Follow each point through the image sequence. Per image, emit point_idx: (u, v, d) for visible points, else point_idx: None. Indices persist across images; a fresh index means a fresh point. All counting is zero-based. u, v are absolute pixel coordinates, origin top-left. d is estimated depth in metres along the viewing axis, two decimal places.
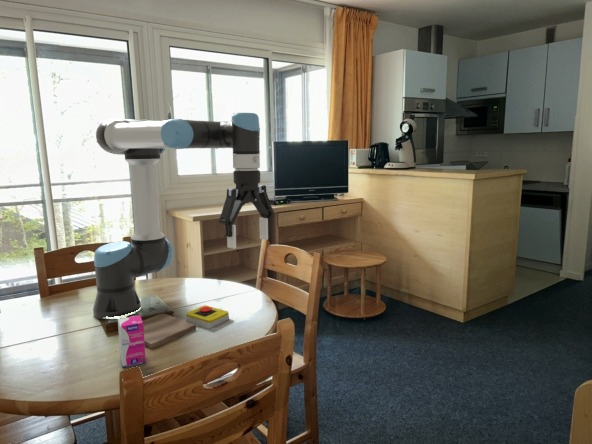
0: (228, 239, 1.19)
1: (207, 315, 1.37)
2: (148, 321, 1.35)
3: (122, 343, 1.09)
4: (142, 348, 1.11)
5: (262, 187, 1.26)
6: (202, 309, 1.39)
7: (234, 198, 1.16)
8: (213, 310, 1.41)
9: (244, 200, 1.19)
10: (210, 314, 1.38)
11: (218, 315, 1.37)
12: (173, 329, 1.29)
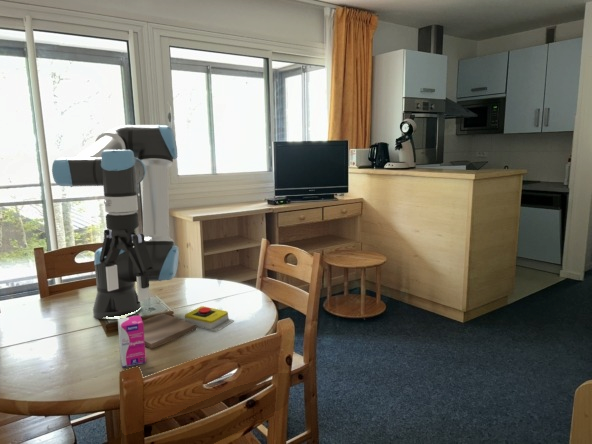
0: None
1: (207, 316, 1.37)
2: (148, 321, 1.35)
3: (122, 343, 1.09)
4: (142, 348, 1.11)
5: None
6: (201, 310, 1.38)
7: (105, 239, 1.11)
8: (212, 310, 1.41)
9: (111, 245, 1.08)
10: (210, 315, 1.38)
11: (218, 315, 1.37)
12: (173, 329, 1.29)
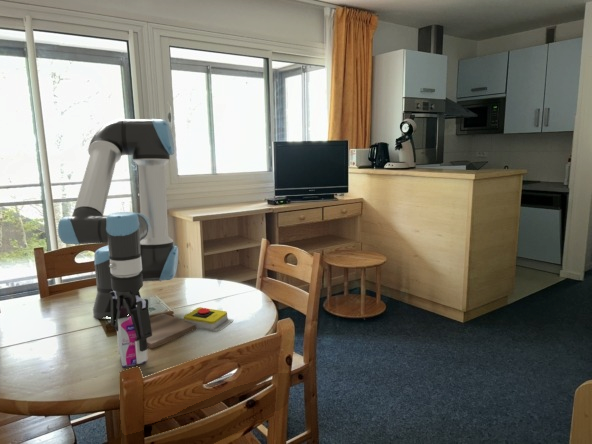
0: None
1: (207, 316, 1.36)
2: None
3: (122, 343, 1.09)
4: None
5: None
6: (200, 311, 1.37)
7: (111, 301, 1.13)
8: (210, 311, 1.40)
9: (117, 306, 1.11)
10: (209, 315, 1.37)
11: (218, 315, 1.37)
12: (173, 329, 1.29)
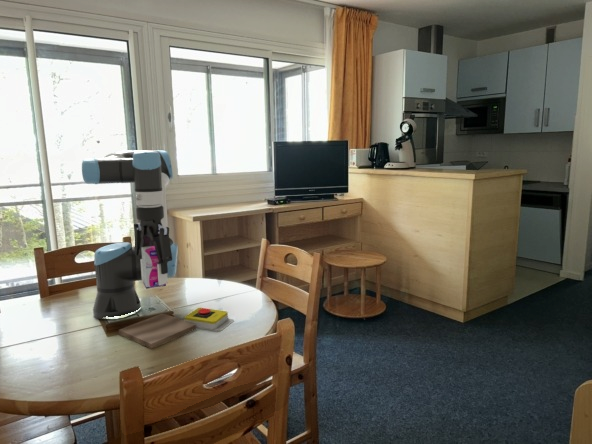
0: None
1: (208, 316, 1.36)
2: (148, 321, 1.35)
3: (146, 266, 1.24)
4: None
5: None
6: (201, 311, 1.37)
7: (136, 232, 1.28)
8: (211, 311, 1.40)
9: (141, 235, 1.26)
10: (210, 315, 1.37)
11: (219, 315, 1.37)
12: (173, 329, 1.29)
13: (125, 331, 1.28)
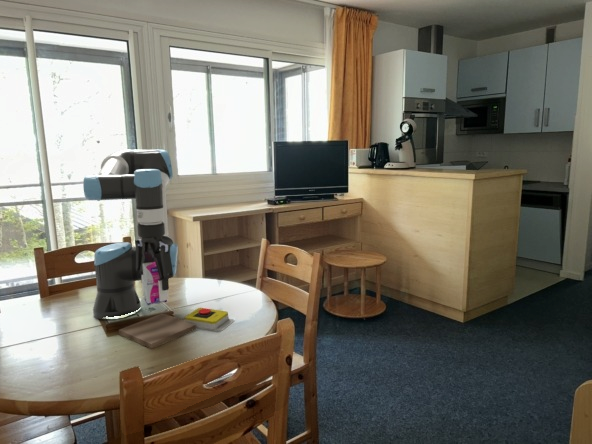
0: None
1: (208, 317, 1.36)
2: (148, 321, 1.35)
3: (147, 283, 1.25)
4: None
5: None
6: (201, 311, 1.37)
7: (137, 248, 1.29)
8: (211, 311, 1.40)
9: (142, 251, 1.27)
10: (211, 315, 1.37)
11: (219, 316, 1.37)
12: (173, 329, 1.29)
13: (125, 331, 1.28)
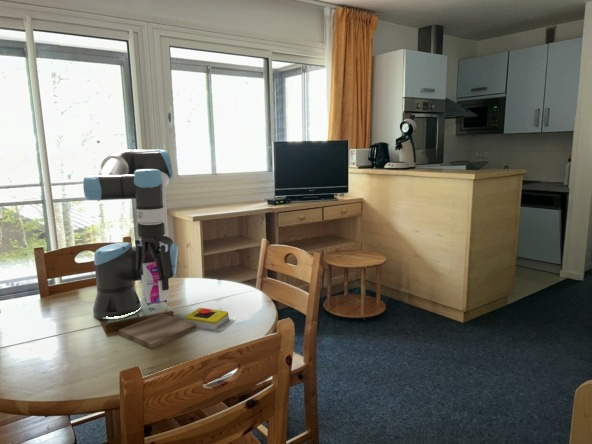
0: None
1: (208, 317, 1.36)
2: (148, 321, 1.35)
3: (147, 283, 1.25)
4: None
5: None
6: (202, 311, 1.37)
7: (137, 248, 1.29)
8: (212, 311, 1.40)
9: (142, 251, 1.27)
10: (211, 315, 1.37)
11: (220, 316, 1.37)
12: (173, 329, 1.29)
13: (125, 331, 1.28)
